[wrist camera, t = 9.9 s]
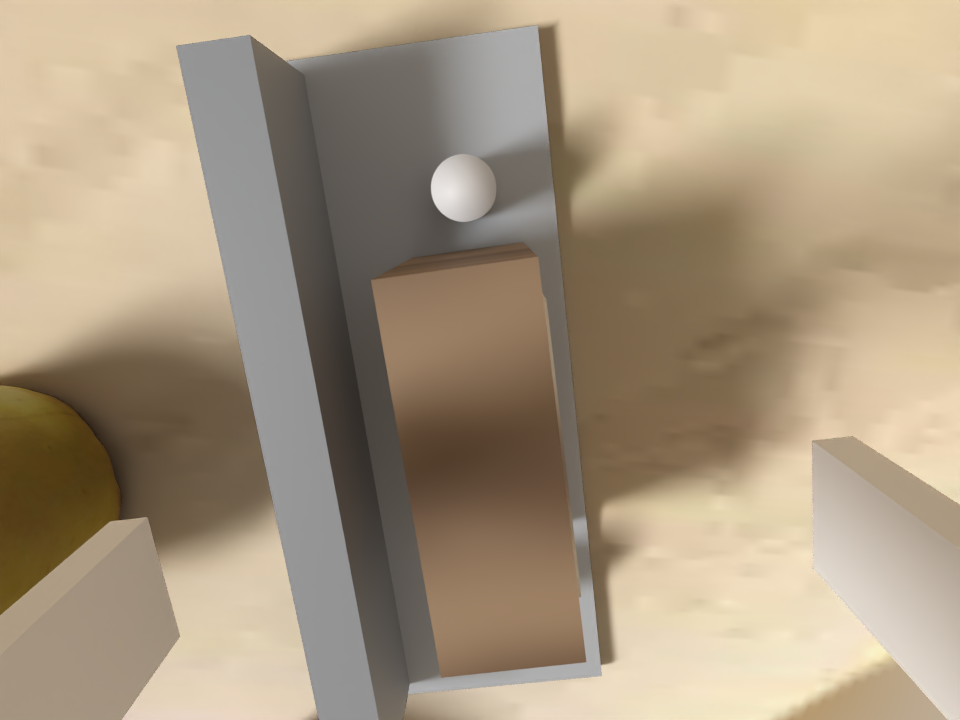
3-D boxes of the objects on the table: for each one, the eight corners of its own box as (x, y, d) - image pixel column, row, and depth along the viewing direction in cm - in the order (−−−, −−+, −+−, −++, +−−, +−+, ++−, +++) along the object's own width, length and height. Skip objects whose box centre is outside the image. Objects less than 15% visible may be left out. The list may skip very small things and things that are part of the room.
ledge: (221, 75, 23) (135, 30, 17) (536, 30, 22) (550, -31, 17) (344, 690, 28) (308, 806, 22) (599, 666, 27) (625, 778, 22)
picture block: (412, 257, 23) (370, 280, 15) (529, 241, 23) (547, 255, 15) (457, 536, 26) (441, 677, 18) (563, 523, 25) (594, 660, 18)
